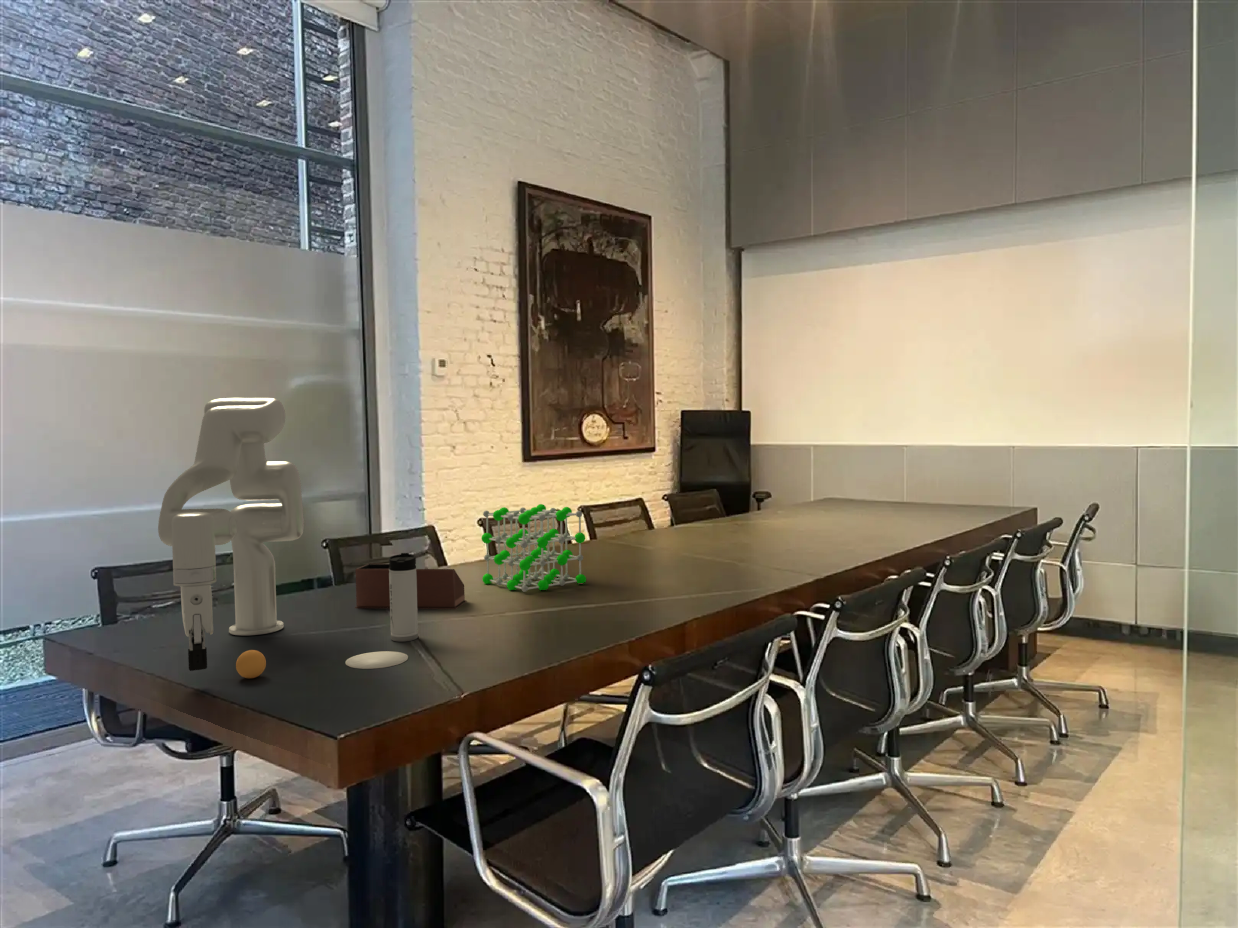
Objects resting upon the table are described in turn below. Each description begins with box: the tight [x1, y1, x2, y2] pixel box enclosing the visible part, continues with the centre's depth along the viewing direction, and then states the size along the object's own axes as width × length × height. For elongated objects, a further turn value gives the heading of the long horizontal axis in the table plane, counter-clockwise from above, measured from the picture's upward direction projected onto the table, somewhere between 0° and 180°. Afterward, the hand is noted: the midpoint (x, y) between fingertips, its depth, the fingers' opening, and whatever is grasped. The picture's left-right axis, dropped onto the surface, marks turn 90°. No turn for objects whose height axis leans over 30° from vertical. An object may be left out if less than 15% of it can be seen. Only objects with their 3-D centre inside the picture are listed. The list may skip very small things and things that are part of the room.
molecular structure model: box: [480, 503, 587, 593], centre depth 271 cm, size 24×25×24 cm
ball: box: [235, 649, 267, 679], centre depth 173 cm, size 6×6×6 cm
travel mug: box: [388, 552, 419, 643], centre depth 204 cm, size 6×7×20 cm
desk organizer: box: [354, 563, 467, 610], centre depth 243 cm, size 10×29×11 cm, turn 84°
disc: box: [344, 650, 409, 670], centre depth 185 cm, size 13×13×1 cm
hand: (197, 668), depth 168 cm, fingers closed
